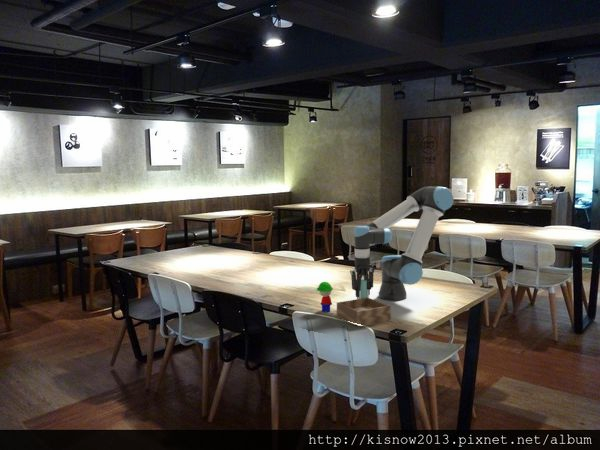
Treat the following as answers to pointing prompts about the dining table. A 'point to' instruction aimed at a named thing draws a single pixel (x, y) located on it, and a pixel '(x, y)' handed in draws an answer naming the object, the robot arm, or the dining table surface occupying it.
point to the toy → (325, 295)
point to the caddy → (364, 311)
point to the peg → (363, 288)
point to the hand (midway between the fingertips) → (362, 302)
